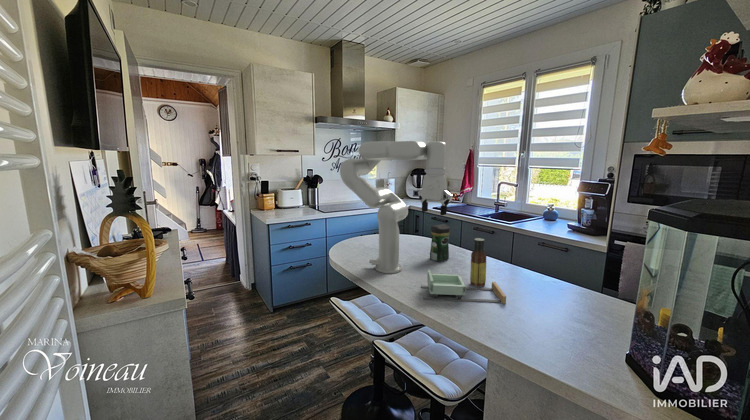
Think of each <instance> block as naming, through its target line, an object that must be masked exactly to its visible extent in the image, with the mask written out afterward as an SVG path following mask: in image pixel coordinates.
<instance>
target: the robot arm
mask: <svg viewBox="0 0 750 420" xmlns="http://www.w3.org/2000/svg"><path fill="white" fill-rule="evenodd" d="M446 150H447V145H446V142H444V141H430V142H428V141H427V142H426V141H419V140H418V141H417V140H405V141H404V140H402V141H398V140H397V141H392V140H385V141H384V140H383V141H382V140H381V141H365V142H362V143H361V144H360V146H359V148H358V155H359V156H360V157H361V158H349V159H348V158H347V159H346V160H344V161H342V163H341V164H340V167H339V174H340V178H341V180H342V182H343V184H345V186H346V187H347V188H348V189H350V190H351V191H352V193H354V194H355V195H356V196H357V197H358V198H359V199H360V200H361V201H362V202H363V203H364V204H366V206H367V207H368V208H371V209H377V210H378V211H377V214H376V217H377V218H376V219H377V223H378V258H375V259H371V258H370V259H369V260H368V261H369V264H371V265H372V266H375V270H376V271H377V272H379V273H383V274H396V273H399V272H401V271H402V270H403V268H402V267H403V266H402V265H401V264H400V263H399V258H400V229H399V223H398V222H401V221H403V220H404V219H406V217H407V216H408V214H409V208H408V206H407V205H406V203H405V202H404V201H403V200H402V199H401V198H400V197H399V196H398V195H396V194H395V192H393V191H392V190H391V189H389V188H387V187H383V186H381V187H375V186H374V185H372V184H371V183H370V182H369V181H368V180H367V179H365V178H363V177H362V176H366V175H368V174H370V173H371V172H372V171H373V170H374V168H375V167H377V165H378V164H380V162H381V161H391V162H392V161H395V160H397V161H398V160H399V161H400V160H401V161H402V160H403V161H404V160H405V161H418V160H421V161H423V160H426V164H425V165H426V167H425V169H424V173H426V174H425V175H424V177H423V179H422V180H423V181H422V185H421V189H420V190H419V191H417V195H418V199H419V200H420V203H421V212H422V213H425V212H428V208H429V202H428V201H439V202H440V204H441V205H440V216H446V215H447V213H448V212H447V210H448V205H449V204H450V203H451V202H452V199H453V198H454V195H453V194H451V193H450V192H449V191H448V183H447V176H446V175H445V174H446V155H447V154H446V152H447V151H446Z"/></svg>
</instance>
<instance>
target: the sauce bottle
mask: <svg viewBox="0 0 750 420" xmlns="http://www.w3.org/2000/svg"><path fill="white" fill-rule="evenodd" d="M473 243H474V247H473V250H472V252H471V254H470V274H469V275H470V276H469V280H470V284H471V286H473V287H476V288H484V287H485V286H486V282H487V252H486V251H485V239H484V238H482V237H477V238H476V237H475V238H474V239H473Z"/></svg>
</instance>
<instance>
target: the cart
mask: <svg viewBox="0 0 750 420" xmlns="http://www.w3.org/2000/svg"><path fill="white" fill-rule="evenodd" d="M426 282H427V286H428V287H429V288H428V291H429V294H430V295H432V297H434V298H437V297H438V295H446V296H447V295H450V296H456V298H458V299H461V298H463V296H466V291H467V290H466V287H467V286H466V284H465V282H464V280H463V278H462V276H461V275H460V274H443V273H440V274H439V273H432V271H431V269H427V279H426Z"/></svg>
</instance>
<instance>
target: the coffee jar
mask: <svg viewBox="0 0 750 420" xmlns="http://www.w3.org/2000/svg"><path fill="white" fill-rule="evenodd" d="M450 233H451V229H450V225H449V224H445V223H443V224H441V223H440V224H435V225H432V226H431V227H430V236H431V244H430V252H429V259H430V260H431V261H433V262H439V263H440V262H444V261H447V260H449V259H450V251H449V248H450V247H449V240H450Z"/></svg>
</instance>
